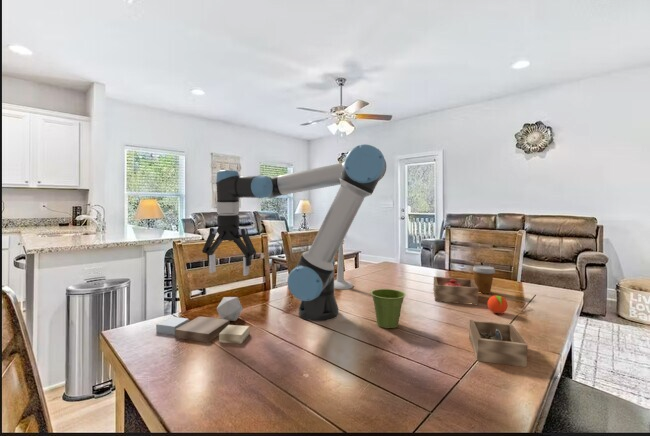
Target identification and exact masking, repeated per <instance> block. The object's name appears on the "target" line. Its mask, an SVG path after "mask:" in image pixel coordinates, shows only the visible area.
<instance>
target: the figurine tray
mask: <svg viewBox="0 0 650 436" xmlns="http://www.w3.org/2000/svg"><path fill="white" fill-rule="evenodd" d="M468 329H469V330H468V331H469V332H468V340H469V342H470V345H471V347H472V350H473V353H474V356H475V359H476V361H478V362H485V363H491V364H500V365H506V366H507V365H508V366H514V367H523V368H527V362H528V361H527V360H528V344H527V343H526V341H525V340H524V339H523V337H522V336H521V335H520V332H518V331H517V328H515V326H514V325H513V324H512V323H503V322H493V321H486V320H485V321H484V320H474V319H469V327H468ZM496 329H497V330H499V331H500V333H501V336H502V341H500V340H491V339H485V338H484V337H483V336H482V335H480V334H479V332H478V330H479V331H480V332H481V333H482V334H484V335H485V331H487V333H488V336H489V335H490V331H491V332H492V336H493V337H494V336H496V333H495V332H496Z"/></svg>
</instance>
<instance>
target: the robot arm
mask: <svg viewBox="0 0 650 436" xmlns="http://www.w3.org/2000/svg"><path fill="white" fill-rule="evenodd" d="M386 173H387V162H386V159H385V156H384V154H383V153H382V151H381V150H380V149H379V148H377V147H375V146H373V145H371V144H359V145H356V146H354V147H353V148H351V149H350V151H348V153H347V155H346V157H345V160H344V162H339V163H335V164H329V165H325V166H321V167H320V166H319V167H314V168H310V169H306V170H300V171H296V172H290V173H285V174H280V175H276V176H271V177H270V176H268V175H245V176H243V175H240V174H239V171H238V170H235V169H234V170H233V169H232V170H231V169H223V170H222V169H221V170H218V171H217V172H216V182H215V183H216V198H217V199H216V200H217V201H216V214H218V215H217V216H216V221H217V222H216V223H217V224H216V225H217V227H215V226H214V227H210V228H209V233H208V236H207V238H206V241H205V243H204V246H203V248H202V254H206V255H207V264H209V266H208V267H209V270H208V271H209V274H213V273H216V271H217V269H216V268H217V267H216V266H217V265H216V253H215V252H216V250H217V249H218V247H219V246H220V245H221V243H222V242H223V241H224V242H225V241H228V242H234V243H235V244H236V246H237V247H238V249H239V250H240V251H241V253H242V254H243V255H244V256H243V257H242V265H243V268H242V270H243V273H242V274H243V275H242V276H244V277H246V276H248V275H250V266H251V265H252V257H253V256H255V255H256V254H257V251H256V248H255V247H254V244H253V243H252V241H251V238H250V235H249V231H248V228H247V227H246V228H240V227H239V226H240V215H239V213H240V199H242V198H252V199H255V198H257V199H264V198H268V199H274V198H277V197H281V196H286V195H290V194H298V193H303V192H307V191H313V190H318V189H323V188H328V187H335V186H339V185H340V187H339V188H338V190H337V192H336V195H335V197H334V199H333V201H332V203H331V205H330V207H329V209H328V210H327V213H326V215H325V217H324V219H323V221H322V224H321V225H320V227H319V229H318V231H317V234H316V235H315V238H314V240H313V242H312V244H311V246H310V248H309V250H306V251H304V252H302V254H301V256H300V257H299V260H298V262H297V264H296V266H295V267H294V268H293V269H292V270H291V271H290V272H289V274H288V277H287V282H286V283H287V287H288V289H289V292H290V294H291V295H292V296H293V297H294V298H296V299H298V300H299V301H300V303H299V306H298V317H300V318H302V319H304V320H308V321H313V322H325V321H330V320H334V319H335V318H337V317H338V316H339V306H338V303H337V299H336V296H335V289H334V280H335V265H336V261H335V257H336V255H337V253H338V252H339V248H340V246H341V244H342V242H343V240H344V239H345V238H346V235H347V234H348V231H349V229H350V228H351V225H352V224H353V222H354V220H355V218H356V216H357V214H358V212H359V209H360V208H361V206H362V204H363V202H364V200H365V199H366V198H367V197H369V196H372V195H373V193H374V191H375V189H376V187H377V185H378V183H379V182H380V181H381V179H383V177H384V176H385V175H386ZM217 234H218V236H217ZM216 236H217V237H216ZM215 238H216V239H215ZM214 240H215V241H214ZM344 241H345V240H344ZM343 243H344V242H343Z"/></svg>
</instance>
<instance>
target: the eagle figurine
mask: <svg viewBox="0 0 650 436" xmlns="http://www.w3.org/2000/svg"><path fill="white" fill-rule="evenodd" d="M478 332H479V334H480V335H482V336H483V337H484V338H485V339H491V340H500V341H502V336H501V333H500V331H499V330H497V329H496V332H495V333H496V336H494V337H493V336H492V332H491V331H490V335H489V336H488V333H487V331H485V335H484V334H482V333H481V332H480V331H479V330H478Z"/></svg>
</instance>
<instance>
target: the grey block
mask: <svg viewBox="0 0 650 436" xmlns="http://www.w3.org/2000/svg"><path fill="white" fill-rule="evenodd" d="M188 322H190V319H189V318H187V317H185V318H184V317H175V316H170V317H168V318H166V319H163V320H162V321H159V322H158V323H156V324H155V331H156V333H158V334H159V333H160V334H167V335H174V336H175V329H177V328H179V327H180V326H182V325H184V324H186V323H188Z"/></svg>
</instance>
